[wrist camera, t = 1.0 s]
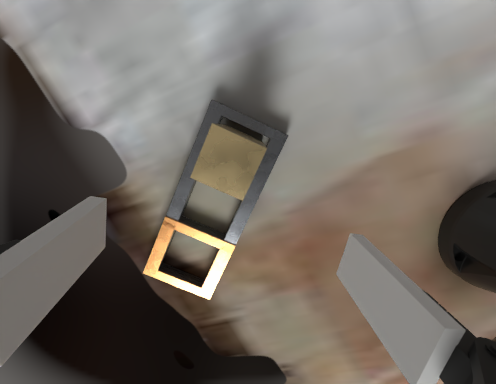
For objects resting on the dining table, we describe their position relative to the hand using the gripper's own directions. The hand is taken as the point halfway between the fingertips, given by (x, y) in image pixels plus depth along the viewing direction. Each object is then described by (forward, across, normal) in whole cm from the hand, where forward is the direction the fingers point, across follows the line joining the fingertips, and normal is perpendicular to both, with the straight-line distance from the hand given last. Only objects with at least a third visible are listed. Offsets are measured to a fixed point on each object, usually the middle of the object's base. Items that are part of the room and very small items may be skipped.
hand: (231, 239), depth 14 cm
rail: (+21, +1, +6) cm, 22 cm away
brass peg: (+21, -1, -2) cm, 21 cm away
